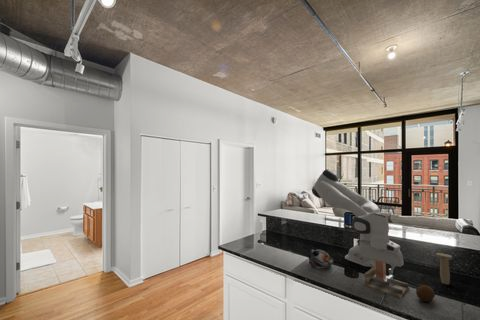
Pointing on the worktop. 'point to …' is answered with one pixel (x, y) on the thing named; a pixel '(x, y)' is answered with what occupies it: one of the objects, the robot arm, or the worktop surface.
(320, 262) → the lucky cat figurine
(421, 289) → the potato
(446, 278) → the handle
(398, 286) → the frame
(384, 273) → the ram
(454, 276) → the worktop surface
